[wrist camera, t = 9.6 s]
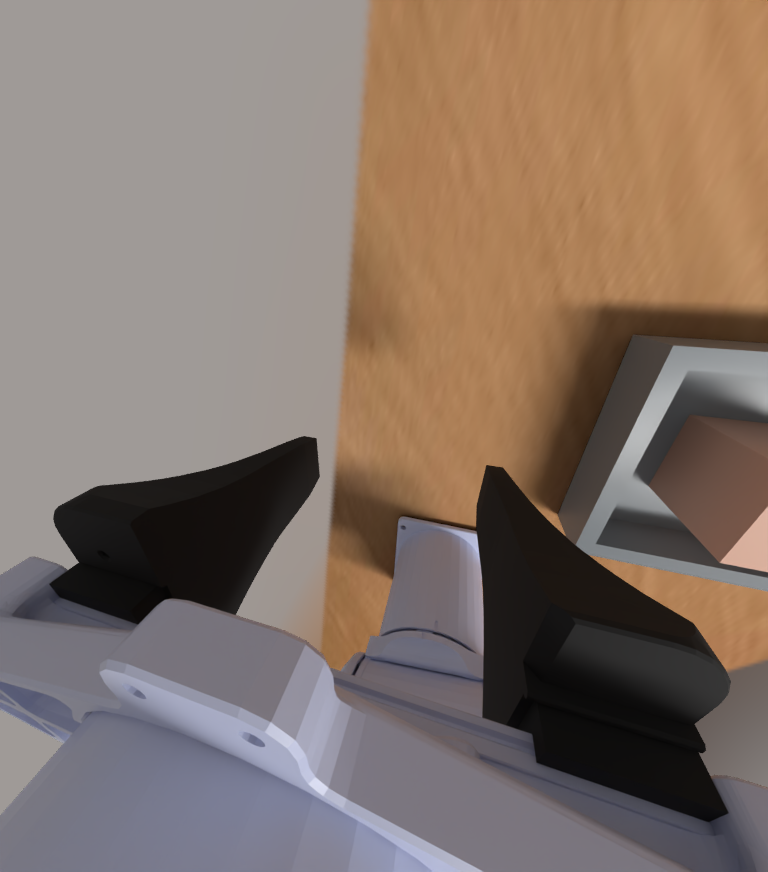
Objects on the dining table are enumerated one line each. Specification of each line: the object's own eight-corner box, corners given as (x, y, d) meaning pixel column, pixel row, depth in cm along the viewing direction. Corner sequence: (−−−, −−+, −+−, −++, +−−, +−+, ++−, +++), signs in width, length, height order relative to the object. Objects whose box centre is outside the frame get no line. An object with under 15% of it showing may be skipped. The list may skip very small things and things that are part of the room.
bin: (770, 553, 19) (827, 603, 16) (557, 514, 22) (572, 551, 19) (960, 355, 13) (1109, 375, 10) (633, 334, 16) (673, 345, 13)
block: (742, 500, 17) (859, 589, 12) (648, 486, 18) (719, 562, 13) (801, 427, 15) (976, 498, 10) (689, 414, 16) (795, 474, 11)
